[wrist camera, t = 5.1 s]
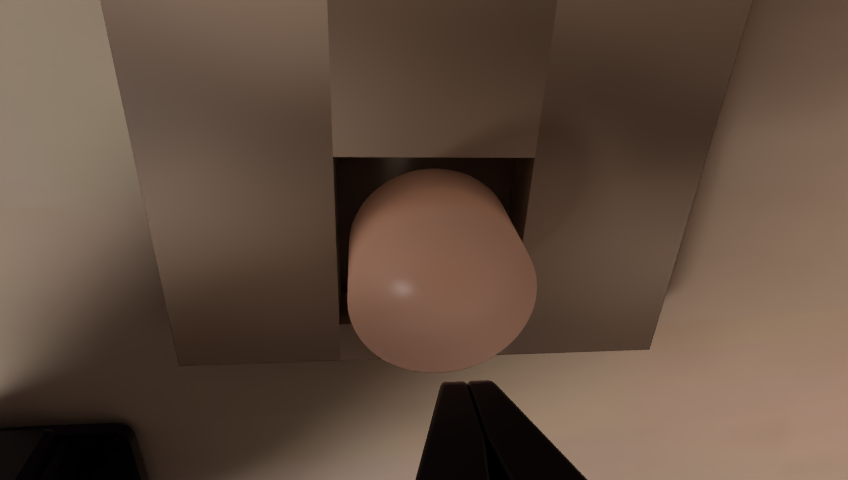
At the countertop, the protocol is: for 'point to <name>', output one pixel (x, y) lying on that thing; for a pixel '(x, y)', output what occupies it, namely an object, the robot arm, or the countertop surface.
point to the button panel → (415, 150)
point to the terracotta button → (437, 273)
